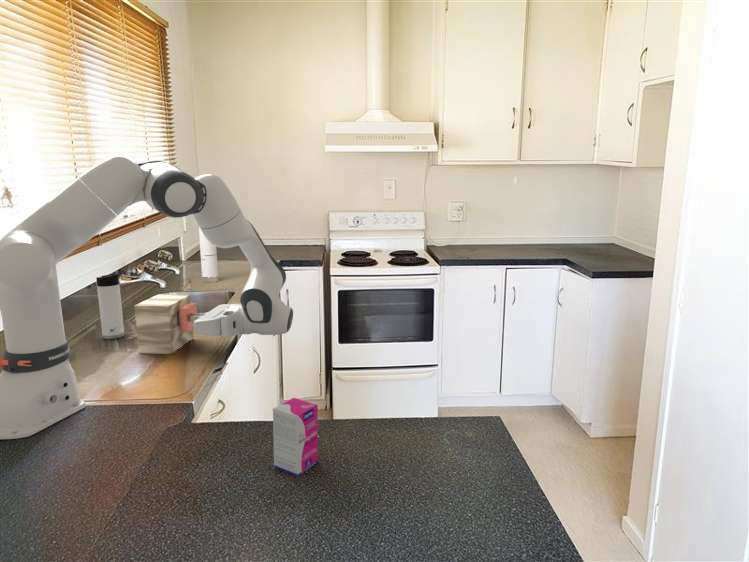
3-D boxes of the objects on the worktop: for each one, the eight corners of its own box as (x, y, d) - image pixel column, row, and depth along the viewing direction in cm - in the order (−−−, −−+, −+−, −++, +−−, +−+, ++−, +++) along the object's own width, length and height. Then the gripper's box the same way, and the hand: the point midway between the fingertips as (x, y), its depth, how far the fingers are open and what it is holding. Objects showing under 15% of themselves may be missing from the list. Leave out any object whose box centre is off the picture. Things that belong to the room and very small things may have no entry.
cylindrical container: (215, 283, 250) (212, 228, 245) (200, 283, 250) (196, 228, 245) (220, 279, 257) (217, 226, 252) (205, 279, 257) (201, 226, 252)
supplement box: (299, 478, 94) (296, 416, 92) (273, 468, 97) (270, 408, 95) (319, 462, 99) (318, 403, 97) (294, 453, 102) (292, 396, 100)
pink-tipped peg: (187, 332, 158) (185, 308, 157) (141, 330, 160) (139, 307, 158) (197, 325, 165) (196, 302, 164) (153, 324, 167) (151, 301, 165)
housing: (172, 354, 156) (168, 306, 153) (138, 352, 157) (134, 305, 154) (193, 338, 170) (190, 294, 167) (162, 337, 171) (158, 294, 168)
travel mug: (117, 340, 169) (110, 276, 165) (98, 338, 170) (91, 275, 166) (129, 333, 175) (123, 272, 171) (111, 332, 176) (104, 271, 172)
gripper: (249, 299, 169) (205, 298, 170) (224, 317, 149) (175, 316, 150) (250, 319, 170) (207, 318, 172) (225, 339, 150) (177, 338, 152)
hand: (192, 317), depth 161 cm, fingers closed, pressing on pink-tipped peg
